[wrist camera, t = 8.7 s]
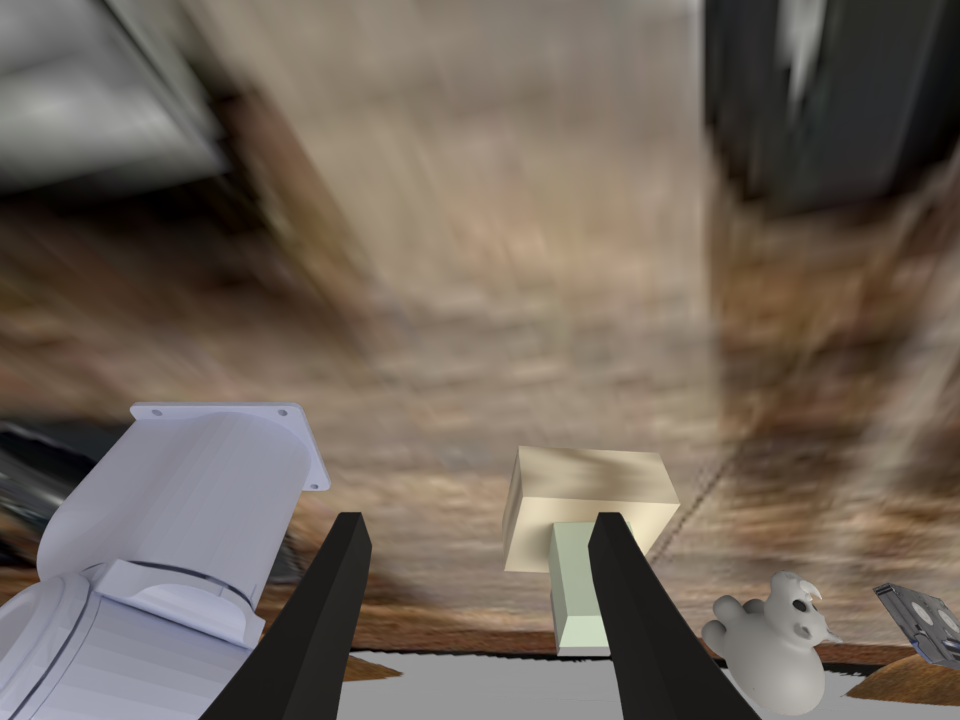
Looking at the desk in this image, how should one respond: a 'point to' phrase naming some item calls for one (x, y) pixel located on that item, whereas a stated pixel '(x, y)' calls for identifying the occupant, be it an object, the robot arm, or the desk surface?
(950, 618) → the mini dv tape
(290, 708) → the robot arm
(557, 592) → the sage cube
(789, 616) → the round bodied animal figurine
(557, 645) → the grey cube
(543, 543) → the birch block
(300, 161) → the desk surface
